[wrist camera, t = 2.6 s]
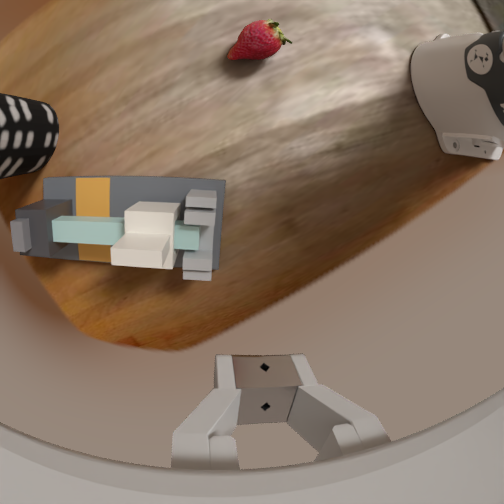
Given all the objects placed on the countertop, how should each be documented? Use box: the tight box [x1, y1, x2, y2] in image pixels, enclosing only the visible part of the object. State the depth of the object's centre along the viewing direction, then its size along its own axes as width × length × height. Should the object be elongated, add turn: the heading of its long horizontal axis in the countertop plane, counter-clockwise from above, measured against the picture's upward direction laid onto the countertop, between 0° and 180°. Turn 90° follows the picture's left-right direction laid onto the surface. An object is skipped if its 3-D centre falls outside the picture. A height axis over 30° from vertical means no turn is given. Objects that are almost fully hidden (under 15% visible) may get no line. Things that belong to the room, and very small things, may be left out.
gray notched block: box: [183, 189, 217, 281], centre depth 25 cm, size 2×7×6 cm, turn 174°
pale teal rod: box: [52, 216, 200, 250], centre depth 23 cm, size 16×2×2 cm, turn 84°
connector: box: [10, 199, 73, 258], centre depth 22 cm, size 4×4×7 cm
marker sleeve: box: [110, 201, 181, 269], centre depth 21 cm, size 4×5×9 cm
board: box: [43, 176, 226, 270], centre depth 26 cm, size 20×9×1 cm, turn 84°
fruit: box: [227, 19, 292, 60], centre depth 21 cm, size 4×6×5 cm
